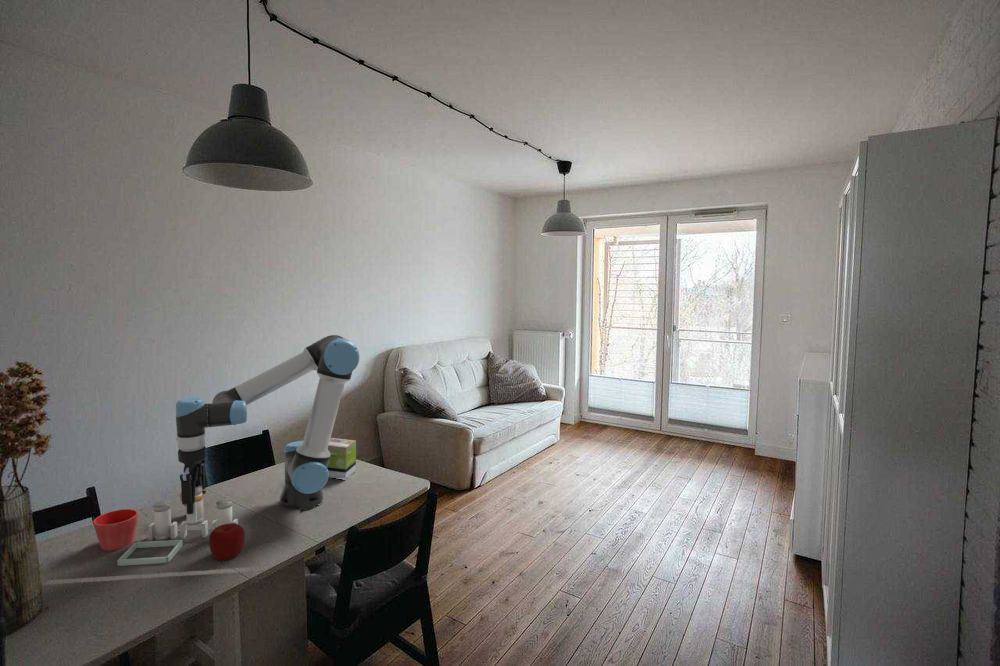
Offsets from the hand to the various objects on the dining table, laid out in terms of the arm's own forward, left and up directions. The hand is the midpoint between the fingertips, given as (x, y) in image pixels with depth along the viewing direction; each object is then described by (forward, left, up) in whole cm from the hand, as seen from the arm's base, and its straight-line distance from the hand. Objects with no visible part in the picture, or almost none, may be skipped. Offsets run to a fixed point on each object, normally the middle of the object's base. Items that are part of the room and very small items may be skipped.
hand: (195, 518), depth 163 cm
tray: (+8, +10, -7) cm, 15 cm away
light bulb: (+6, -15, -7) cm, 18 cm away
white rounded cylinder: (-9, 0, -6) cm, 10 cm away
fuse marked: (0, 0, -1) cm, 1 cm away
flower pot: (+21, +2, -7) cm, 23 cm away
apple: (-13, +12, -7) cm, 20 cm away
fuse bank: (0, 0, -7) cm, 7 cm away
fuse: (+9, 0, -6) cm, 11 cm away
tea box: (-36, -50, -7) cm, 62 cm away
